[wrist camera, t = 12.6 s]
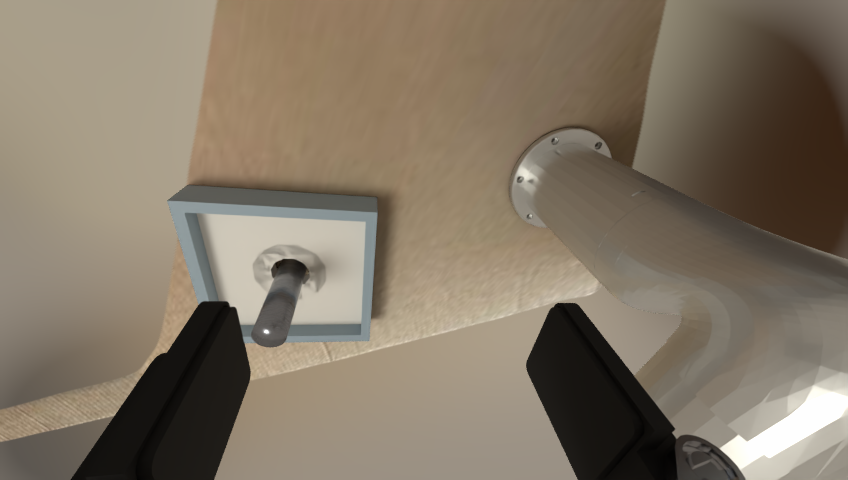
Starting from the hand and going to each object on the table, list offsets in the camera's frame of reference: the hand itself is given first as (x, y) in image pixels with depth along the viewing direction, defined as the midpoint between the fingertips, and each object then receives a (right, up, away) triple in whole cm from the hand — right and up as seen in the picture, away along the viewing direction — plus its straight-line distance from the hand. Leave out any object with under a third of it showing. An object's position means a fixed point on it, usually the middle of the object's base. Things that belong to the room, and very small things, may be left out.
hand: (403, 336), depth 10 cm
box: (-16, 0, +31) cm, 35 cm away
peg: (-16, 0, +31) cm, 35 cm away
